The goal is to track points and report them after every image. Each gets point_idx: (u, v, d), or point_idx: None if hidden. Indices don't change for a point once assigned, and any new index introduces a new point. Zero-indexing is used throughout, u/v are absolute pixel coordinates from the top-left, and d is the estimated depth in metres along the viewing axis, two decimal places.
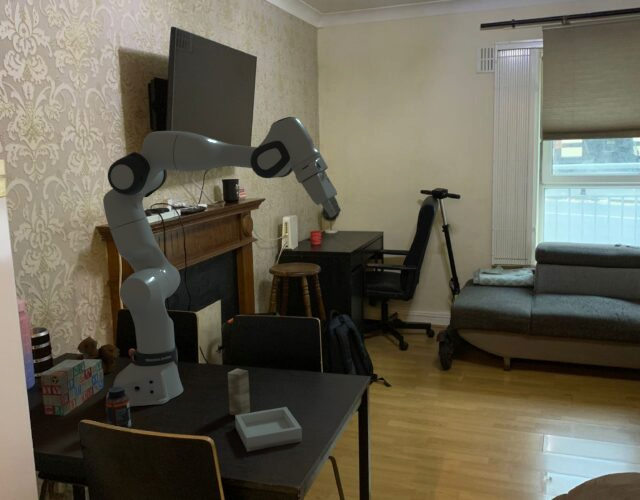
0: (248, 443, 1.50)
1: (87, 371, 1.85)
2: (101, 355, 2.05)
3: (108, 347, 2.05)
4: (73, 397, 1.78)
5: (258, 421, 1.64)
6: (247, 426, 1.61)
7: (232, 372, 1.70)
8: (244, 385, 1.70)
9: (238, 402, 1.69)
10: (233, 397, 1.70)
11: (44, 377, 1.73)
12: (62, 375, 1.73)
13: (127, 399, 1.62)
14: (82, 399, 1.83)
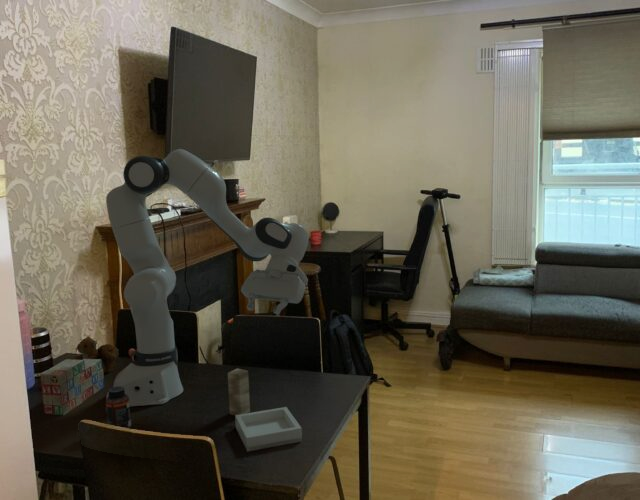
0: (248, 443, 1.50)
1: (87, 371, 1.86)
2: (100, 355, 2.05)
3: (107, 347, 2.05)
4: (73, 396, 1.78)
5: (258, 421, 1.64)
6: (247, 426, 1.61)
7: (232, 372, 1.70)
8: (244, 385, 1.70)
9: (238, 402, 1.69)
10: (233, 397, 1.70)
11: (44, 377, 1.73)
12: (62, 375, 1.73)
13: (127, 399, 1.62)
14: (82, 399, 1.83)
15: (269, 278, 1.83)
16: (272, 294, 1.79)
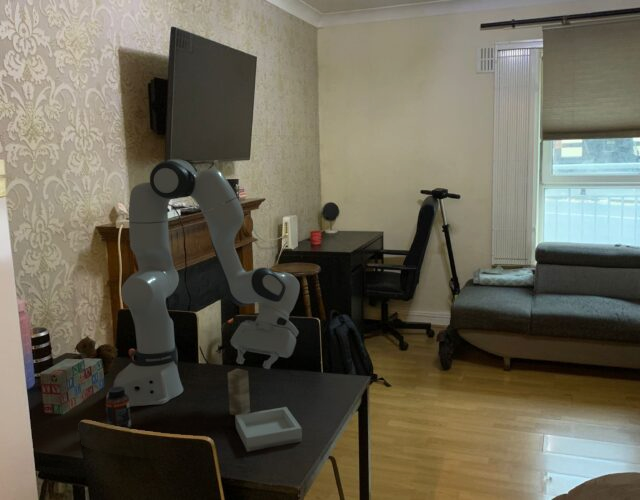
0: (248, 443, 1.50)
1: (87, 370, 1.86)
2: (99, 355, 2.05)
3: (106, 347, 2.05)
4: (73, 396, 1.79)
5: (258, 421, 1.64)
6: (247, 426, 1.61)
7: (232, 372, 1.70)
8: (244, 385, 1.70)
9: (237, 402, 1.69)
10: (233, 397, 1.70)
11: (43, 376, 1.74)
12: (61, 374, 1.74)
13: (127, 399, 1.62)
14: (82, 398, 1.83)
15: (259, 330, 1.80)
16: (262, 348, 1.76)
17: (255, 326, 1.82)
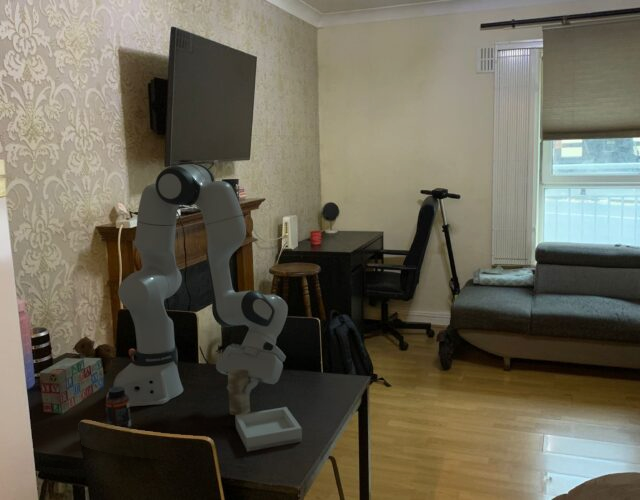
0: (248, 443, 1.50)
1: (86, 369, 1.87)
2: (98, 355, 2.05)
3: (105, 347, 2.06)
4: (72, 395, 1.80)
5: (258, 421, 1.64)
6: (247, 426, 1.61)
7: (232, 372, 1.70)
8: (244, 385, 1.70)
9: (238, 402, 1.69)
10: (233, 397, 1.70)
11: (43, 375, 1.75)
12: (60, 373, 1.74)
13: (127, 399, 1.62)
14: (81, 397, 1.84)
15: (245, 355, 1.75)
16: (248, 374, 1.71)
17: (241, 350, 1.77)
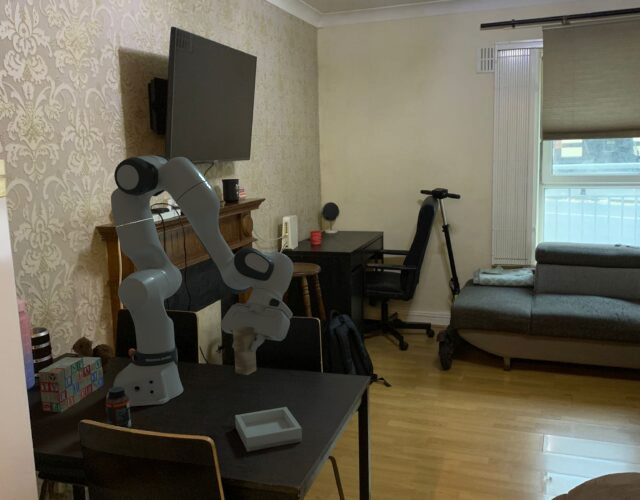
0: (248, 443, 1.50)
1: (86, 369, 1.88)
2: (96, 355, 2.05)
3: (103, 347, 2.06)
4: (71, 394, 1.80)
5: (258, 421, 1.64)
6: (247, 426, 1.61)
7: (237, 329, 1.64)
8: (250, 342, 1.64)
9: (243, 360, 1.64)
10: (239, 354, 1.64)
11: (42, 374, 1.75)
12: (59, 372, 1.75)
13: (127, 399, 1.62)
14: (80, 396, 1.85)
15: (251, 313, 1.70)
16: (254, 331, 1.65)
17: (246, 308, 1.71)
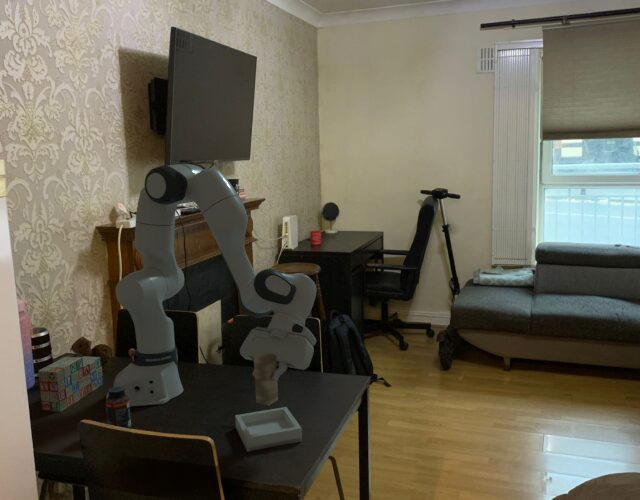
0: (248, 443, 1.50)
1: (85, 368, 1.88)
2: (95, 355, 2.05)
3: (102, 347, 2.06)
4: (70, 393, 1.81)
5: (258, 421, 1.64)
6: (247, 426, 1.61)
7: (258, 356, 1.55)
8: (271, 371, 1.55)
9: (265, 390, 1.54)
10: (260, 383, 1.55)
11: (41, 373, 1.76)
12: (59, 372, 1.76)
13: (127, 399, 1.62)
14: (80, 396, 1.85)
15: (272, 338, 1.60)
16: (275, 358, 1.56)
17: (267, 334, 1.62)
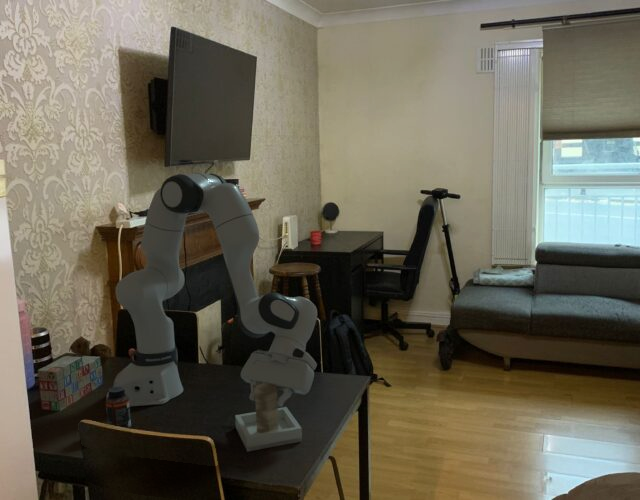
0: (248, 443, 1.50)
1: (85, 368, 1.88)
2: (94, 355, 2.05)
3: (101, 347, 2.06)
4: (70, 393, 1.81)
5: None
6: (247, 426, 1.61)
7: (259, 386, 1.56)
8: (272, 401, 1.56)
9: (265, 420, 1.56)
10: (261, 413, 1.56)
11: (41, 373, 1.76)
12: (58, 371, 1.76)
13: (127, 399, 1.62)
14: (79, 395, 1.86)
15: (273, 362, 1.61)
16: (276, 383, 1.57)
17: (268, 357, 1.63)
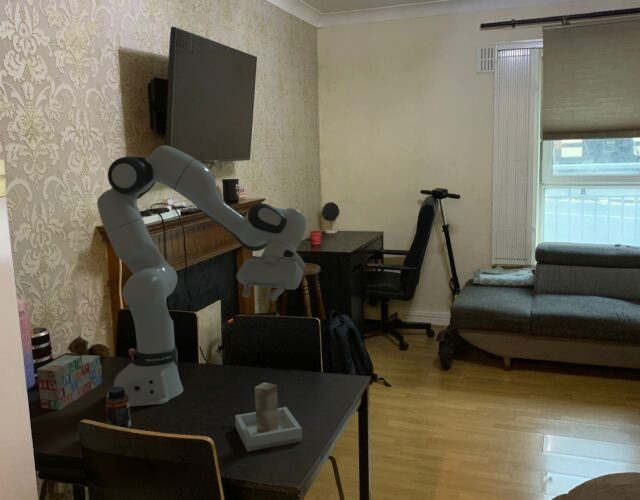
0: (248, 443, 1.50)
1: (84, 367, 1.89)
2: None
3: (98, 347, 2.06)
4: (69, 391, 1.82)
5: None
6: (247, 426, 1.61)
7: (259, 386, 1.56)
8: (272, 401, 1.56)
9: (265, 420, 1.56)
10: (261, 413, 1.56)
11: (40, 372, 1.77)
12: (57, 370, 1.77)
13: (127, 399, 1.62)
14: (79, 394, 1.87)
15: (265, 264, 1.78)
16: (268, 280, 1.73)
17: (261, 260, 1.79)
